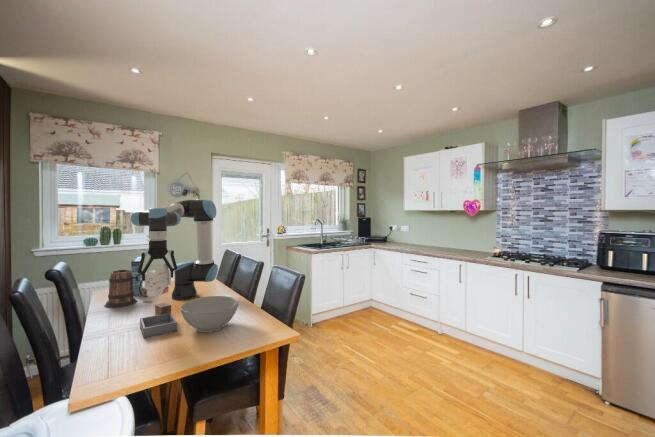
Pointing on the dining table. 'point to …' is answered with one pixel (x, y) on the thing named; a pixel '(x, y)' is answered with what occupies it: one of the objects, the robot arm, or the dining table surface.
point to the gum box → (134, 272)
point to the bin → (158, 325)
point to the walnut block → (162, 308)
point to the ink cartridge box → (157, 281)
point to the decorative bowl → (209, 312)
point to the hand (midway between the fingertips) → (157, 285)
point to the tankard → (122, 289)
